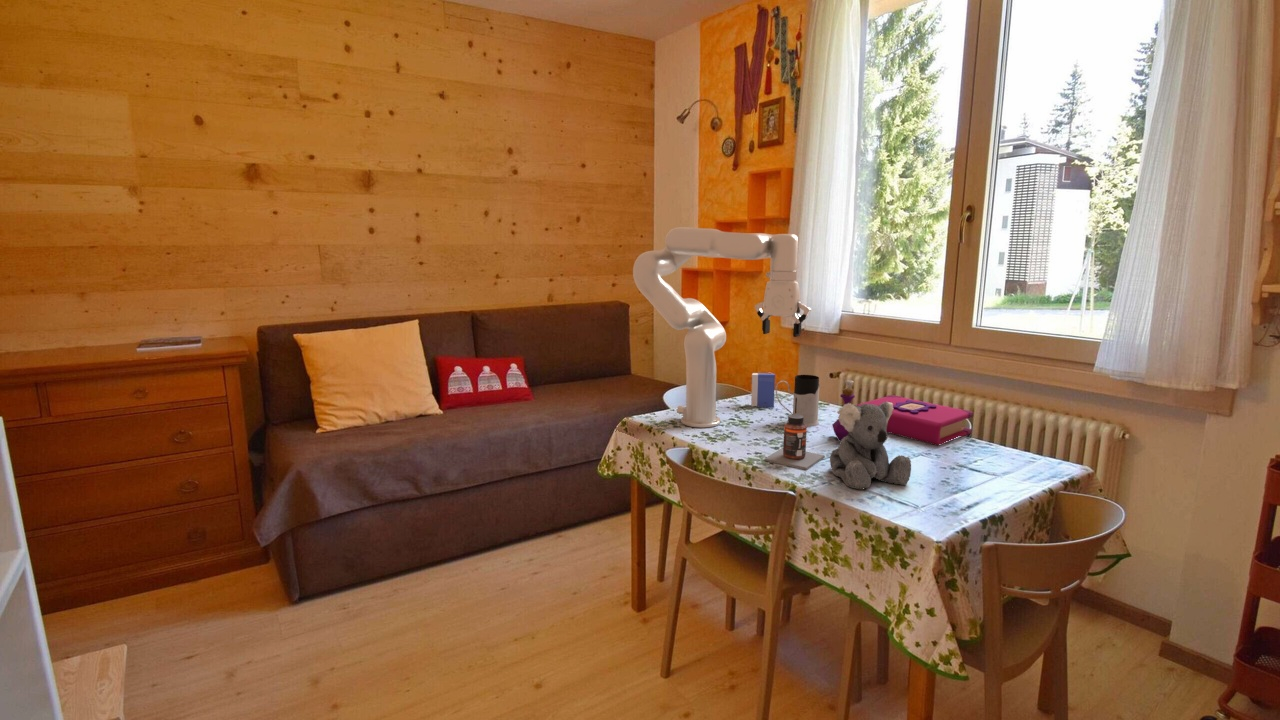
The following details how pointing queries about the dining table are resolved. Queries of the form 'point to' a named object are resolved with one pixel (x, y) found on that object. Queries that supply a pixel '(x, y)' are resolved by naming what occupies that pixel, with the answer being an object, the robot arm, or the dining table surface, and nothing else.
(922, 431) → the book
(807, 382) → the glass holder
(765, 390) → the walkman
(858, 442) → the koala plush
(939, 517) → the dining table surface
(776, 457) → the grey mat
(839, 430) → the perfume bottle
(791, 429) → the supplement bottle
